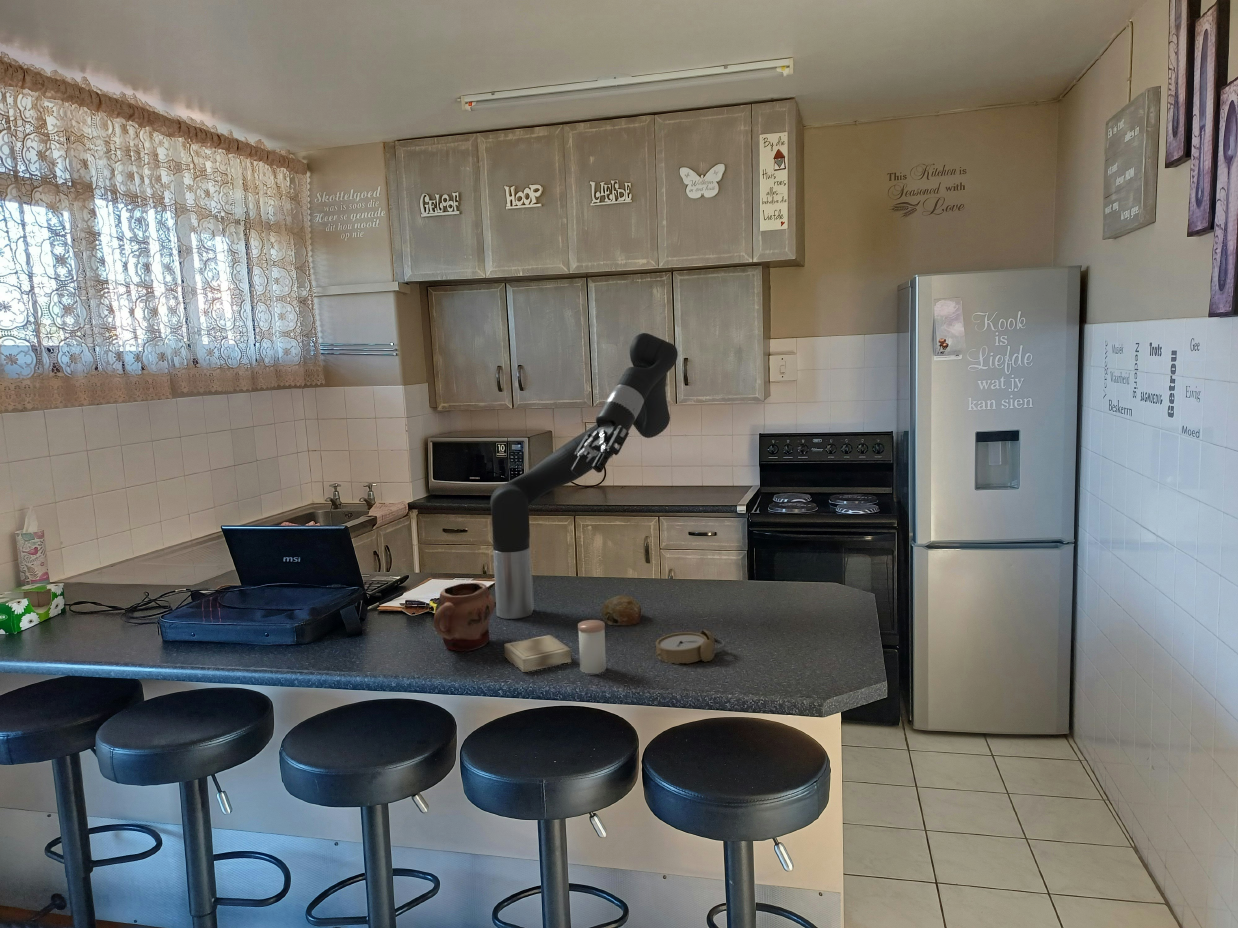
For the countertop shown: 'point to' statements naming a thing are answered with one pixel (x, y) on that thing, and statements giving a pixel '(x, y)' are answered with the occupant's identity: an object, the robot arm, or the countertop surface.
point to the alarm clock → (688, 647)
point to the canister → (592, 646)
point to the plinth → (537, 653)
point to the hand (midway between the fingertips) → (585, 472)
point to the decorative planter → (464, 616)
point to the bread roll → (621, 611)
